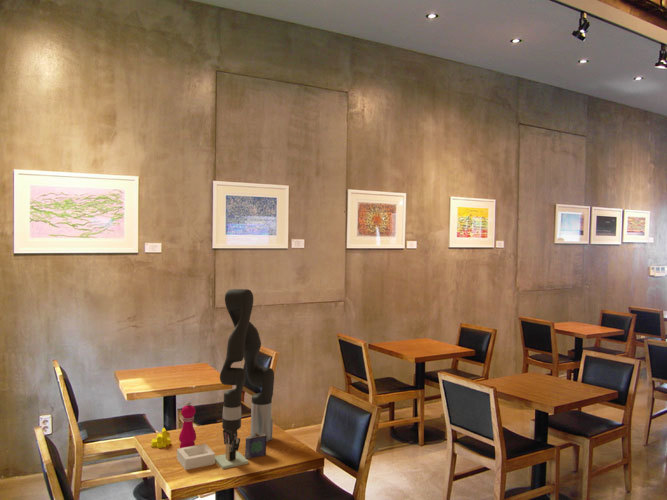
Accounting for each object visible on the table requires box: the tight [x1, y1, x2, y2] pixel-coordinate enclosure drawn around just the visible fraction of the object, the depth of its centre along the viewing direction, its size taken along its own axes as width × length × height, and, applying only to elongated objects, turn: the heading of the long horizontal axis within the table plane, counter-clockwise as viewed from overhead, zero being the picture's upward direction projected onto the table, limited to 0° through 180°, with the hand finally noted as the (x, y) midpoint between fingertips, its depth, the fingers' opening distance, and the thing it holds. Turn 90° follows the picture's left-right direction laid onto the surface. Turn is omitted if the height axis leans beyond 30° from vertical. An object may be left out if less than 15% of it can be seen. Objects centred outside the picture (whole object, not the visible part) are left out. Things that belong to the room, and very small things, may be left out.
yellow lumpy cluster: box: [150, 427, 172, 449], centre depth 226 cm, size 6×8×8 cm
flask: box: [244, 431, 267, 460], centre depth 217 cm, size 9×3×11 cm, turn 121°
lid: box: [215, 442, 249, 470], centre depth 211 cm, size 11×11×7 cm
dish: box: [176, 443, 216, 471], centre depth 209 cm, size 12×12×4 cm
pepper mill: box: [178, 401, 197, 448], centre depth 224 cm, size 7×7×20 cm
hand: (230, 458), depth 211 cm, fingers closed on lid, 3 cm apart
